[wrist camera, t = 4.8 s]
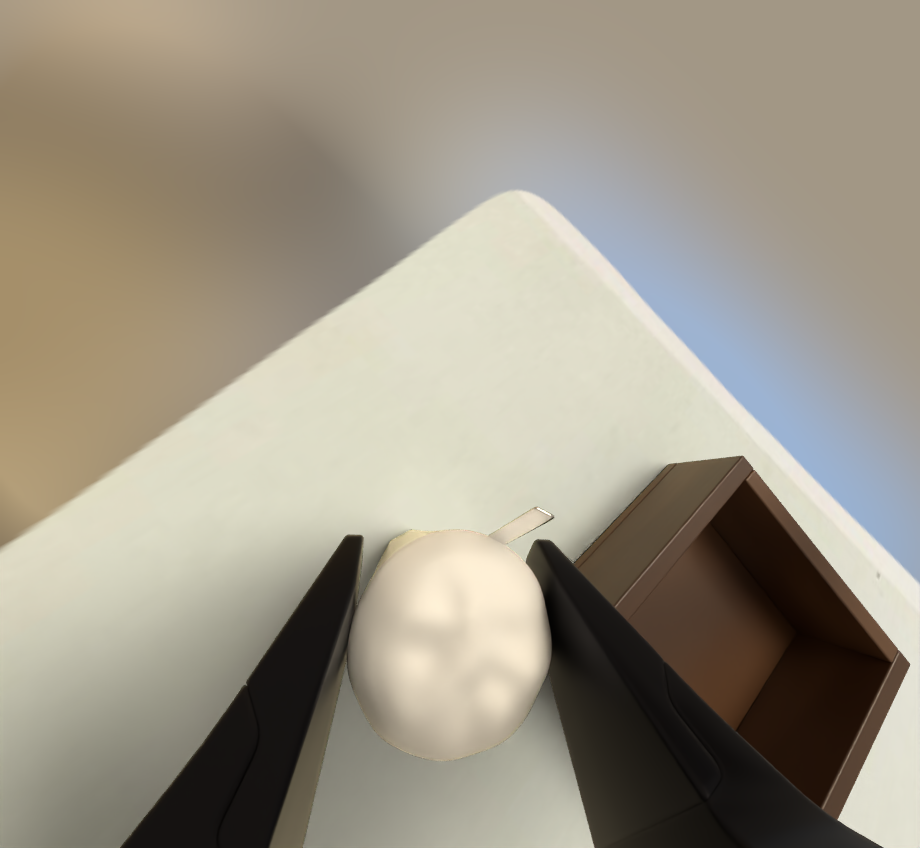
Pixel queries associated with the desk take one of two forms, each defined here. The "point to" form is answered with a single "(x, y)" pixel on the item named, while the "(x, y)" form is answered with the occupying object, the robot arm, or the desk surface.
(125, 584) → the desk surface
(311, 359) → the desk surface
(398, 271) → the desk surface
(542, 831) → the desk surface
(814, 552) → the open box
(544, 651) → the milkshake
